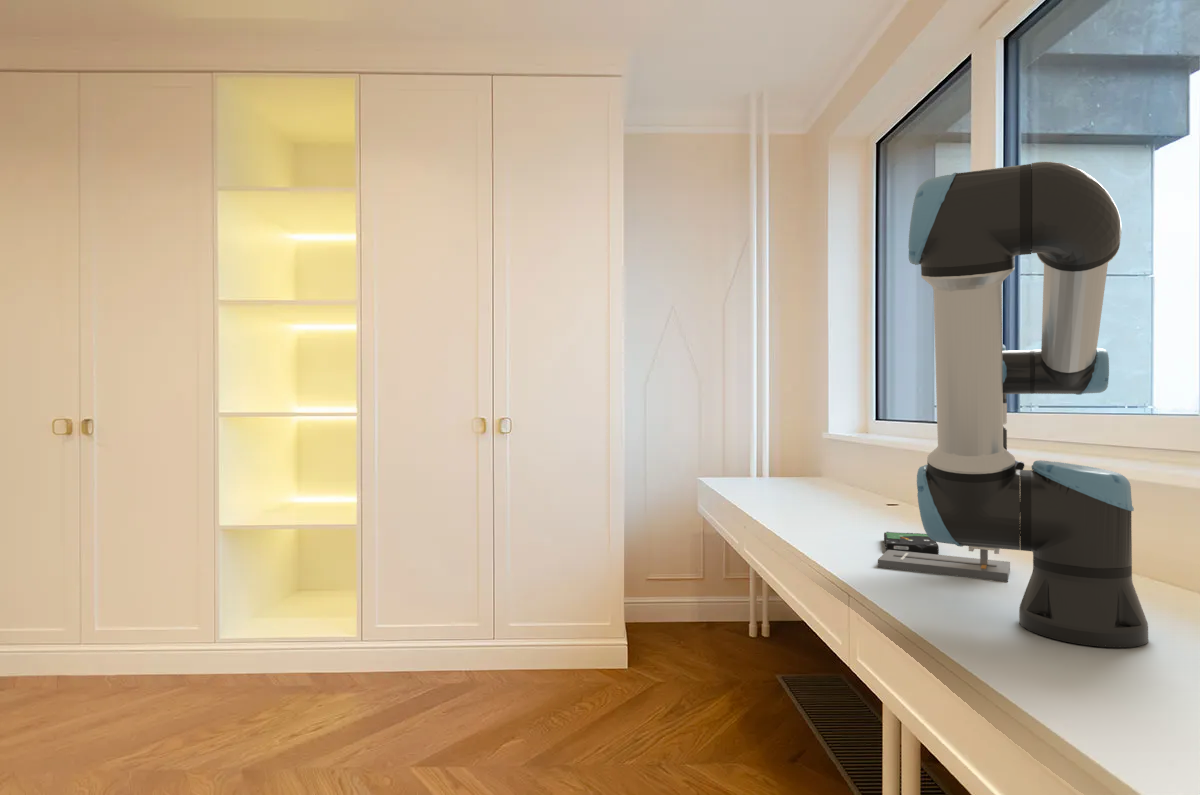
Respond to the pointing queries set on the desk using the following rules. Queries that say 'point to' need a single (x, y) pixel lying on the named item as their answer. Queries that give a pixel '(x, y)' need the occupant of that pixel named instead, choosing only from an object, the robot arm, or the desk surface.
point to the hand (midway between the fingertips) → (984, 551)
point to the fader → (983, 554)
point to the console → (945, 565)
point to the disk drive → (910, 542)
